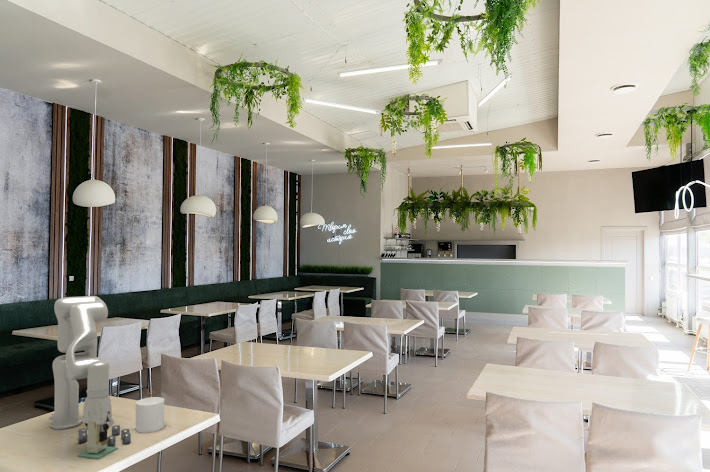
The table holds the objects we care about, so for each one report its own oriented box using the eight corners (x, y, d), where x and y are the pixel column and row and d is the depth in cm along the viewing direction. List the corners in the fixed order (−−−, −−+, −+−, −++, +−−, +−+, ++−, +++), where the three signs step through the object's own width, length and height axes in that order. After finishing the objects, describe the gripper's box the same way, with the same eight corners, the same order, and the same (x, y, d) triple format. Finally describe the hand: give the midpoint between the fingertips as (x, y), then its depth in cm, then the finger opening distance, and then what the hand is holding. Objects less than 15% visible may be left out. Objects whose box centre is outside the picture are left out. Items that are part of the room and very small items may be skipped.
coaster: (76, 456, 188) (76, 455, 188) (97, 446, 198) (97, 445, 198) (98, 459, 185) (98, 457, 185) (117, 449, 195) (117, 447, 195)
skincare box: (96, 453, 188) (96, 421, 188) (86, 452, 189) (87, 420, 189) (108, 447, 194) (108, 416, 195) (98, 446, 195) (99, 415, 196)
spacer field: (63, 444, 200) (63, 436, 200) (94, 430, 215) (94, 422, 215) (115, 451, 193) (115, 442, 193) (143, 436, 208) (143, 427, 208)
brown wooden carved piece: (161, 414, 237) (161, 389, 237) (162, 416, 234) (163, 391, 234) (141, 417, 232) (141, 391, 233) (142, 419, 229) (143, 393, 229)
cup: (143, 423, 224) (143, 397, 224) (168, 423, 224) (168, 397, 224) (130, 433, 212) (130, 405, 213) (157, 433, 212) (157, 405, 212)
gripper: (72, 394, 191) (72, 441, 190) (108, 397, 186) (108, 446, 186) (88, 389, 198) (87, 434, 198) (123, 392, 194) (122, 438, 193)
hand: (97, 439), depth 192 cm, fingers open, 4 cm apart
